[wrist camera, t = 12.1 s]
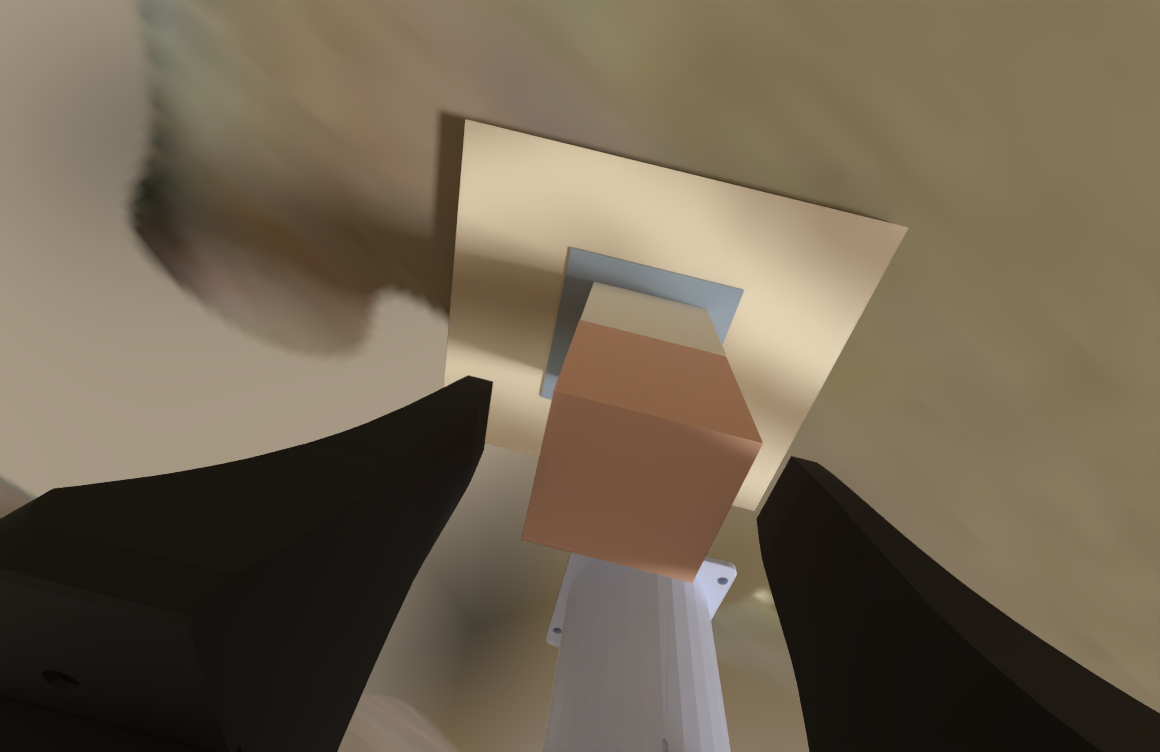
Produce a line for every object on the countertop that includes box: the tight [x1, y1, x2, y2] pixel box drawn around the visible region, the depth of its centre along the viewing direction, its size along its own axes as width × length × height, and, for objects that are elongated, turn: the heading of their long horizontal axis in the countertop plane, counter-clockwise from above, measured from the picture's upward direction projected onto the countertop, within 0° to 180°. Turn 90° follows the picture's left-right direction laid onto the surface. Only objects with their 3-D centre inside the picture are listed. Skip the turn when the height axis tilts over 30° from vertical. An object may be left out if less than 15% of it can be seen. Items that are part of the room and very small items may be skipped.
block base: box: [580, 282, 727, 356], centre depth 14 cm, size 4×4×4 cm
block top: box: [522, 320, 763, 583], centre depth 11 cm, size 4×4×4 cm
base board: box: [444, 119, 909, 511], centre depth 17 cm, size 12×14×1 cm
